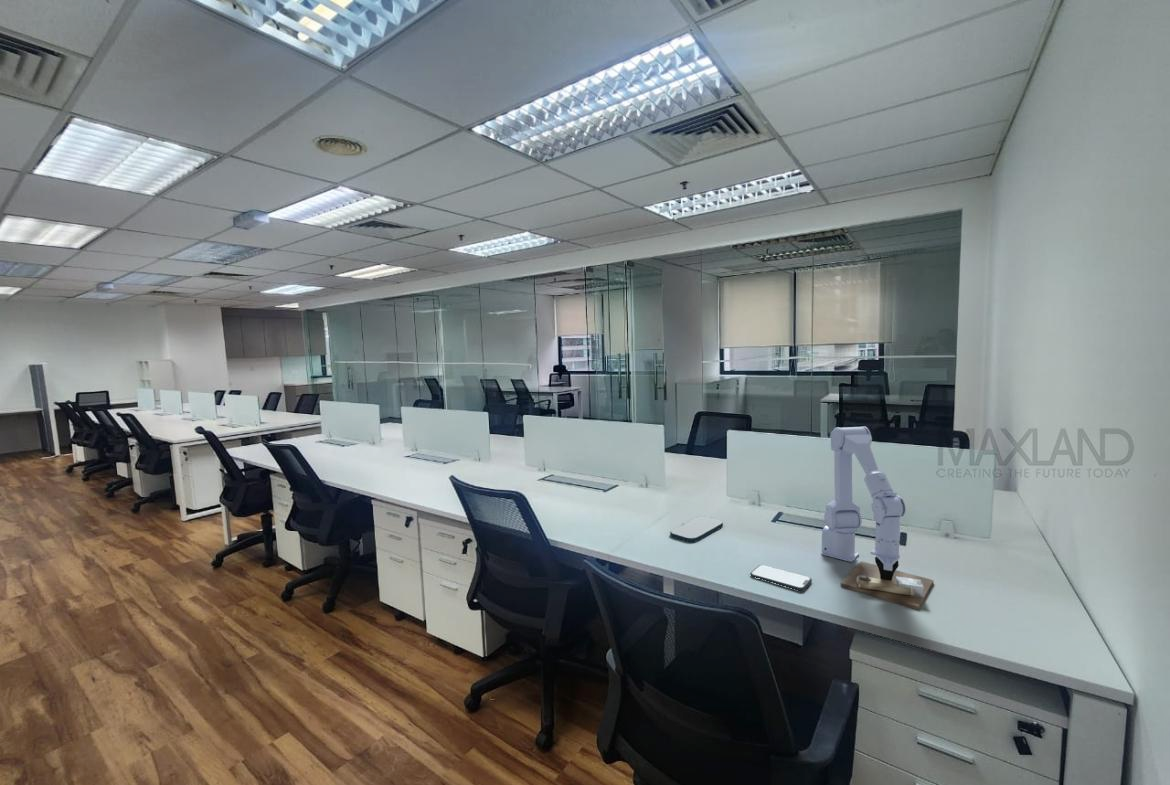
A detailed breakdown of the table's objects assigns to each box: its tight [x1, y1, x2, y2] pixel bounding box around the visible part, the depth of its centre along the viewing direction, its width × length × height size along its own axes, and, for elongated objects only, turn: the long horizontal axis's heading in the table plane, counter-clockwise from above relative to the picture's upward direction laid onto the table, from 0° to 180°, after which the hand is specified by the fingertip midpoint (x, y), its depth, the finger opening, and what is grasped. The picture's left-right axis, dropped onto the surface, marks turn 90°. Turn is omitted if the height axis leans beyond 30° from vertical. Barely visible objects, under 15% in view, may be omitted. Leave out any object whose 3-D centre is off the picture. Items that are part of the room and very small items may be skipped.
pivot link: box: [857, 575, 911, 595], centre depth 137 cm, size 13×4×3 cm, turn 65°
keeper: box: [896, 576, 924, 598], centre depth 134 cm, size 6×4×4 cm
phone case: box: [749, 564, 813, 592], centre depth 147 cm, size 9×2×16 cm
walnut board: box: [840, 560, 934, 611], centre depth 141 cm, size 19×19×1 cm
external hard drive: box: [669, 515, 724, 543], centre depth 187 cm, size 24×12×2 cm, turn 135°
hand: (885, 584), depth 138 cm, fingers closed, pressing on pivot link
